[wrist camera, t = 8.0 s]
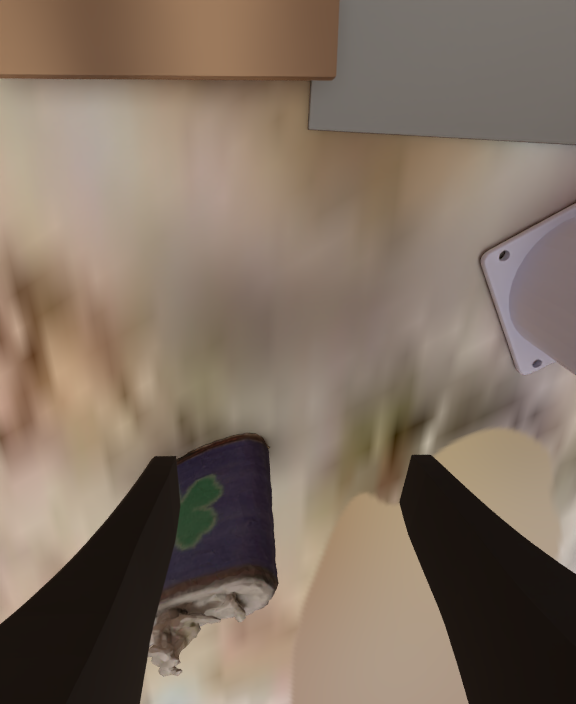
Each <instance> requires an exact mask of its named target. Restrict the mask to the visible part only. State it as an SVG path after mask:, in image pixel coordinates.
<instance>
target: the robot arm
mask: <svg viewBox="0 0 576 704" xmlns="http://www.w3.org/2000/svg"><path fill="white" fill-rule="evenodd" d="M502 251H505V255H504V257H503V258H501V259H499V255H500V253H501V252H502ZM481 266H482V269H483V272H484V275H485V278H486V281H487V284H488V287H489V290H490V292H491V295H492V298H493V301H494V304H495V307H496V310H497V313H498V316H499V319H500V322H501V325H502V328H503V331H504V334H505V337H506V340H507V343H508V346H509V349H510V352H511V355H512V358H513V361H514V364H515V367H516V369H517V371H518V372H520V373H521V374H523V375H528V374H531V373H533V372H535V371H537V370H539V369H541V368H543V367H545V366H547V365H550V364H552V363H554V362H556V361H557V362H558V363H559V364H561V365H562V366H564V367H565V368H566V369H568V370H569V371H571V372H572V373H573V374H575V375H576V203H575V204H573V205H571V206H569V207H567V208H565V209H564V210H562V211H560V212H558V213H556V214H554V215H553V216H551V217H549V218H547V219H545V220H543V221H541V222H540V223H538V224H536V225H534V226H532V227H530V228H529V229H527V230H525V231H523V232H521V233H519V234H517V235H516V236H514V237H512V238H510V239H508V240H506V241H505V242H503V243H501V244H499V245H497V246H495V247H493V248H492V249H490V250H488V251H487V252H485V253H484V254H483V256H482V258H481ZM535 360H537V361H536V362H535V363H534V364H533V362H534V361H535ZM400 506H401V510H402V514H403V518H404V521H405V525H406V528H407V532H408V535H409V537H410V540H411V542H412V545H413V547H414V550H415V552H416V555H417V557H418V560H419V562H420V564H421V567H422V569H423V572H424V574H425V576H426V579H427V581H428V584H429V586H430V588H431V591H432V593H433V595H434V598H435V600H436V602H437V605H438V607H439V610H440V613H441V615H442V618H443V621H444V624H445V626H446V630H447V633H448V636H449V639H450V642H451V646H452V649H453V652H454V655H455V658H456V661H457V665H458V668H459V672H460V675H461V678H462V682H463V685H464V689H465V692H466V696H467V699H468V703H469V704H576V574H575V573H573V572H572V571H570V570H569V569H567V568H566V567H565V566H563V565H562V564H560V563H559V562H557V561H556V560H554V559H553V558H552V557H550V556H549V555H548V554H546V553H545V552H543V551H542V550H541V549H539V548H538V547H537V546H535V545H534V544H532V543H531V542H530V541H529V540H527V539H526V538H525V537H523V536H522V535H521V534H519V533H518V532H517V531H516V530H514V529H513V528H512V527H511V526H509V525H508V524H507V523H506V522H505V521H504V520H502V519H501V518H500V517H499V516H498V515H496V514H495V513H494V512H493V511H492V510H491V509H489V508H488V507H487V506H486V505H485V504H484V503H482V502H481V501H480V500H479V499H478V498H477V497H476V496H475V495H474V494H473V493H471V492H470V491H469V490H468V489H467V488H466V487H465V486H464V485H463V484H462V483H461V482H460V481H459V480H457V479H456V478H455V477H454V476H453V475H452V474H451V473H450V472H449V471H448V470H447V469H446V468H445V467H443V466H442V465H441V464H440V463H439V462H438V461H437V460H436V459H435V458H434V457H433V456H431V455H412V456H411V460H410V464H409V468H408V471H407V475H406V479H405V483H404V487H403V490H402V494H401V498H400ZM179 513H180V494H179V483H178V472H177V460H176V456H155V457H154V458H153V459H151V461H150V462H149V464H148V466H147V467H146V468H145V470H144V471H143V473H142V474H141V476H140V477H139V479H138V480H137V481H136V483H135V484H134V485H133V487H132V488H131V490H130V491H129V492H128V494H127V495H126V496H125V497H124V499H123V500H122V501H121V502H120V504H119V505H118V506H117V508H116V509H115V510H114V511H113V513H112V514H111V515H110V516H109V518H108V519H107V520H106V521H105V522H104V523H103V525H102V526H101V527H100V528H99V529H98V530H97V531H96V533H95V534H94V535H93V536H92V537H91V538H90V540H89V541H88V542H87V543H86V544H85V545H84V546H83V547H82V548H81V549H80V550H79V552H78V553H77V554H76V555H75V556H74V557H73V558H72V559H71V560H70V561H69V562H68V563H67V564H66V565H65V566H64V567H63V568H62V569H61V570H60V571H59V572H58V573H57V574H56V575H55V576H54V577H53V578H52V579H51V580H50V581H49V582H47V583H46V584H45V585H44V586H43V587H42V588H41V589H40V590H39V591H38V592H37V593H36V594H35V595H34V596H32V597H31V598H30V599H29V600H28V601H27V602H26V603H25V604H24V605H22V606H21V607H20V608H19V609H18V610H17V611H16V612H14V613H13V614H12V615H11V616H10V617H8V618H7V619H6V620H5V621H4V622H2V623H1V624H0V704H140V699H141V693H142V686H143V680H144V674H145V669H146V663H147V657H148V651H149V645H150V640H151V635H152V630H153V626H154V621H155V617H156V614H157V610H158V606H159V602H160V598H161V594H162V591H163V587H164V583H165V579H166V575H167V572H168V568H169V564H170V560H171V556H172V552H173V548H174V544H175V540H176V534H177V527H178V520H179Z"/></svg>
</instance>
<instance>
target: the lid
mask: <svg viewBox="0 0 576 704" xmlns="http://www.w3.org/2000/svg"><path fill="white" fill-rule="evenodd" d="M339 2H340V0H0V78H37V79H179V80H321V81H332V80H333V79H334V78H335V77H336V71H337V48H338V25H339Z"/></svg>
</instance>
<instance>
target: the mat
mask: <svg viewBox="0 0 576 704" xmlns="http://www.w3.org/2000/svg"><path fill="white" fill-rule="evenodd" d="M308 130H324V131H342V132H359V133H377V134H395V135H412V136H430V137H447V138H465V139H483V140H500V141H518V142H535V143H553V144H570V145H576V0H340V2H339V25H338V48H337V71H336V77H335V78H334V79H333V80H332V81H321V80H311V85H310V101H309V118H308Z"/></svg>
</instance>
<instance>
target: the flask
mask: <svg viewBox="0 0 576 704" xmlns="http://www.w3.org/2000/svg"><path fill="white" fill-rule="evenodd" d="M269 448H270V447H269V446H267V444H266V443H265V441H264V439H263V438H262V437H261V436H259V435H257V434H249V433H245V434H241V435H234V436H231V437H228V438H226V439H222V440H219V441H215V442H213V443H212V444H207V445H205V446H202V447H199V448H198V449H197V450H195V451H191V452H190V453H188V454H187V455H186V456H184V457H182V458H180V459H178V460H177V472H178V483H179V494H180V513H179V520H178V527H177V534H176V540H175V544H174V548H173V552H172V556H171V560H170V564H169V568H168V572H167V575H166V579H165V583H164V587H163V591H162V594H161V598H160V602H159V606H158V610H157V614H156V617H155V621H154V626H153V630H152V635H151V640H150V645H149V647H150V646H152V645H153V646H152V647H151V648H150V649H149V651H148V657H152V660H151V662H152V663H153V664H154V665H156V666H158V667H160V668H159V674H160V675H162V676H163V677H164V676H168V675H172V674H173V675H176V676H178V675H179V674H180V673H182V670H181V669H177V668H176V667H175V666H176V665H178V664H179V663H181V662H180V661H179V654H180V652H181V651H182V649H184V648H185V647H186V646H187V645H188V644H189V643H190V642H191V641H192V639H193V638H196V636H197V634H198V632H199V631H200V630H201V628H200V626H202V625H205V624H207V623H210V624H212V623H218V622H220V621H221V619H225V618H232V617H235V619H236V620H237V621H238V622H242V621H243V620H244V619H245V618H246V616H247V615H250V614H252V613H253V612H254V611H255V610H259V609H262V608H263V607H264V606H266V605H267V604H268V602H269V600H270V599H271V598H272V597H273V595H274V593H275V590H276V589H277V586H278V578H277V569H276V563H275V539H274V531H273V530H274V523H273V514H272V488H271V482H270V463H269V450H268V449H269Z"/></svg>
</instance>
